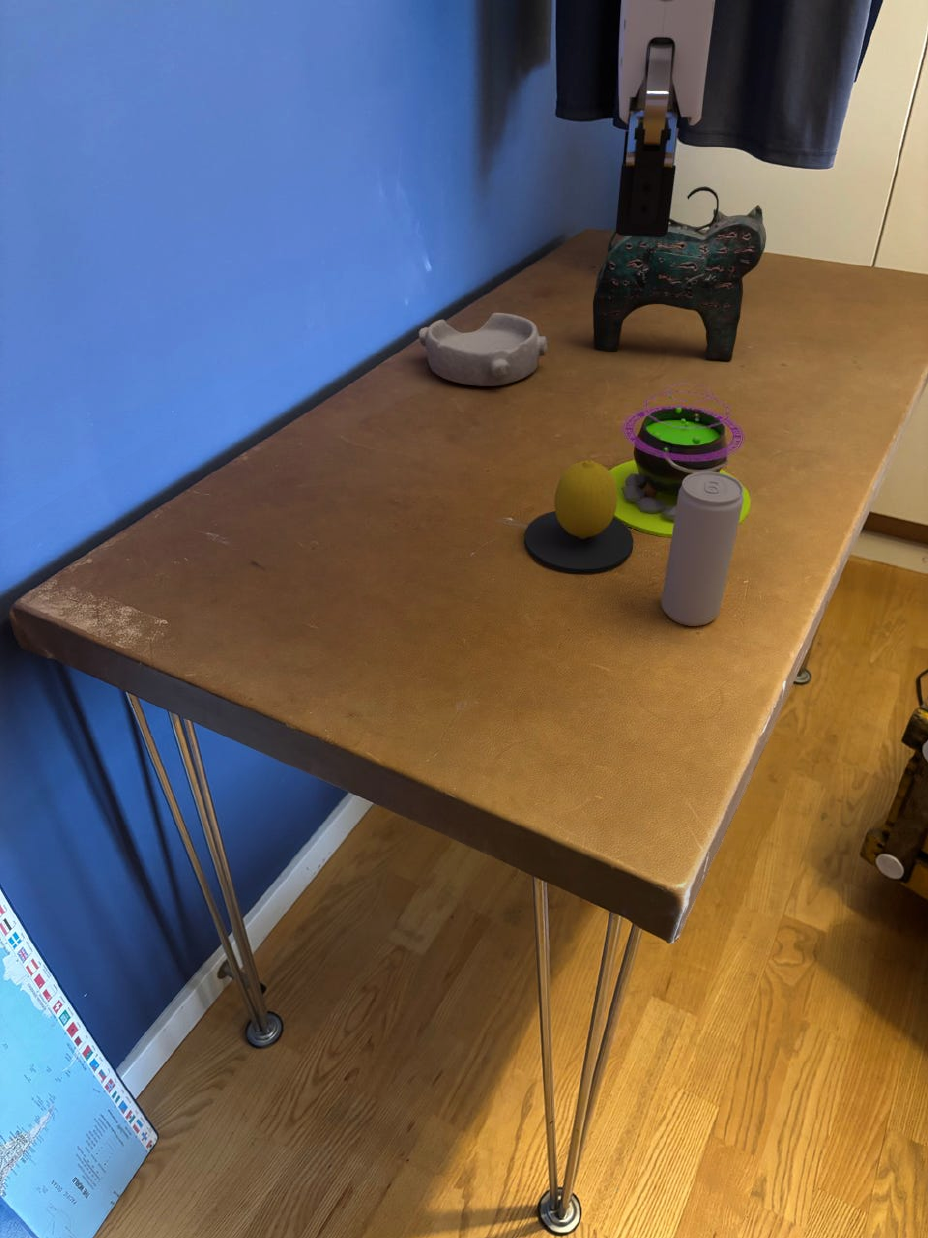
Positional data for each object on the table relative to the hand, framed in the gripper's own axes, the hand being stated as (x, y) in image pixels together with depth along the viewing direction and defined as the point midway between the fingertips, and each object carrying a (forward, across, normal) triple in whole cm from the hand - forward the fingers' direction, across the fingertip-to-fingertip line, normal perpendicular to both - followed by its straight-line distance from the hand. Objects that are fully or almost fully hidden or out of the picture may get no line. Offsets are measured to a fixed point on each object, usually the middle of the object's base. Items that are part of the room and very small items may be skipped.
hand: (641, 213), depth 61 cm
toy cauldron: (+31, +15, -6) cm, 35 cm away
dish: (+31, +43, +17) cm, 55 cm away
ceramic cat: (+31, +51, -6) cm, 60 cm away
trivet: (+30, +5, +2) cm, 31 cm away
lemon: (+30, +5, +2) cm, 30 cm away
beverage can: (+31, -4, -7) cm, 32 cm away
